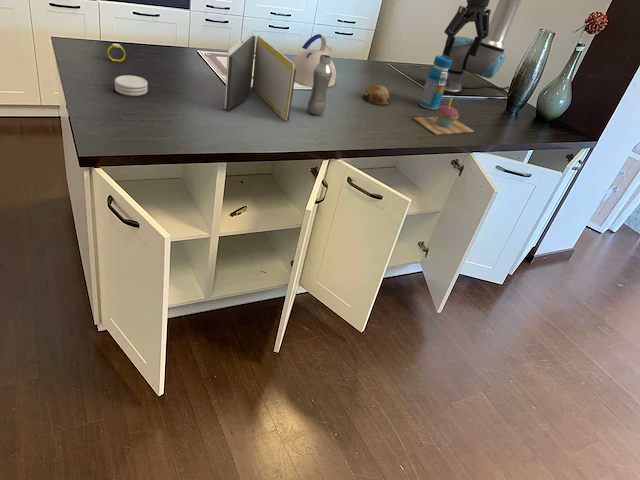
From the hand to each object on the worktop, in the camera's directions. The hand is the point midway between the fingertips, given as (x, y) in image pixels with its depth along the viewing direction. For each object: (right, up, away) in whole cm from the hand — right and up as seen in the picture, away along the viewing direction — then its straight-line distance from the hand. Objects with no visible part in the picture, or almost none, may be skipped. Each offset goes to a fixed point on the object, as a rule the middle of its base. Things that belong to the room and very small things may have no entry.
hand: (459, 55), depth 176 cm
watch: (-127, -2, 0) cm, 127 cm away
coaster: (-114, -19, -20) cm, 117 cm away
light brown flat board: (-4, -24, +8) cm, 26 cm away
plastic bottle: (-53, -23, -6) cm, 58 cm away
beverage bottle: (-6, -12, +24) cm, 28 cm away
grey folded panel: (-78, -20, -9) cm, 81 cm away
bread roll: (-29, -12, +18) cm, 36 cm away
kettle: (-55, 0, +25) cm, 61 cm away
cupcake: (-4, -24, +8) cm, 25 cm away
